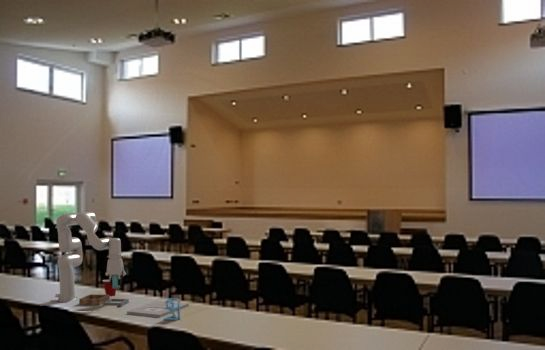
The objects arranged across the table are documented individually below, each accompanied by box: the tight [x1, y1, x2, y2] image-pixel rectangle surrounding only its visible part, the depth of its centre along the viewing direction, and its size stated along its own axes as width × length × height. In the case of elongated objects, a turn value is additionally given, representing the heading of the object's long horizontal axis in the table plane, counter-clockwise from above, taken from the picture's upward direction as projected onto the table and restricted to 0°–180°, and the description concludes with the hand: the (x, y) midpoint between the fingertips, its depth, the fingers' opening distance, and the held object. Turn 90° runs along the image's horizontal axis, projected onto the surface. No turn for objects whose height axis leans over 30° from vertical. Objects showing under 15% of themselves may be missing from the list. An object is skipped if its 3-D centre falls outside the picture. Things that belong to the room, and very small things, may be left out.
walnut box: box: [79, 293, 111, 306], centre depth 347 cm, size 14×14×5 cm
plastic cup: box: [102, 279, 117, 297], centre depth 370 cm, size 11×11×12 cm
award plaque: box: [126, 300, 190, 319], centre depth 328 cm, size 25×30×2 cm
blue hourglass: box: [163, 297, 181, 321], centre depth 304 cm, size 8×8×12 cm
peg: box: [112, 275, 121, 290], centre depth 345 cm, size 4×4×9 cm
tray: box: [102, 298, 130, 308], centre depth 345 cm, size 12×12×2 cm
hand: (116, 284), depth 345 cm, fingers closed on peg, 4 cm apart
